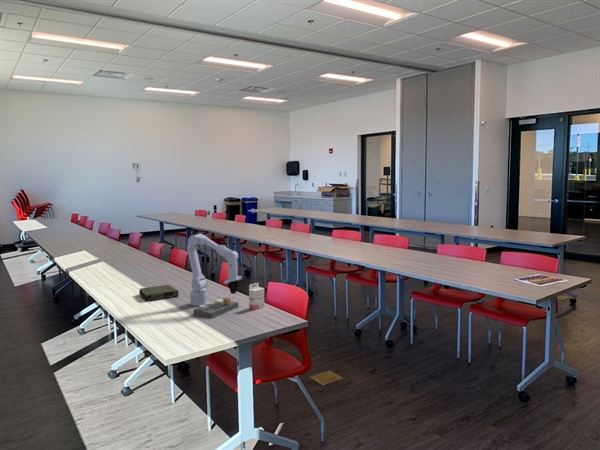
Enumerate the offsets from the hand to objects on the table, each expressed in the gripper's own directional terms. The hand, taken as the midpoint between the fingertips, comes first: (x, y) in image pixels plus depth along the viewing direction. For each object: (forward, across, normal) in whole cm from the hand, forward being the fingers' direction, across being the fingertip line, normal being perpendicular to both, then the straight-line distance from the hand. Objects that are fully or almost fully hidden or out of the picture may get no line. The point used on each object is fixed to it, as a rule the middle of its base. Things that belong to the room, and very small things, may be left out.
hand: (233, 293), depth 273 cm
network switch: (+9, -2, +62) cm, 63 cm away
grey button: (+6, -18, +7) cm, 21 cm away
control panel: (+8, -12, +4) cm, 15 cm away
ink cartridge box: (+9, +4, -14) cm, 17 cm away
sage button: (+6, -11, +7) cm, 15 cm away
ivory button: (+6, -4, +7) cm, 10 cm away
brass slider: (+5, -6, 0) cm, 8 cm away
